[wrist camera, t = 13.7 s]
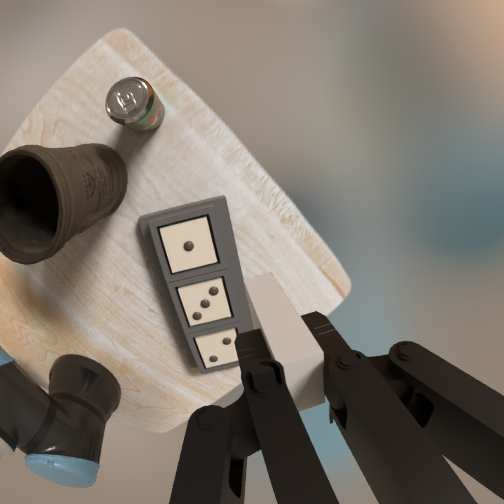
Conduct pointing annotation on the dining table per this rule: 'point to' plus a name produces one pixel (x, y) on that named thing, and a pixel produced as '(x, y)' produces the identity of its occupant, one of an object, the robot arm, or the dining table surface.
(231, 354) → the tile two dots
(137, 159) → the dining table surface
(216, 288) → the tile three dots
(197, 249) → the tile one dot
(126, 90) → the soda can
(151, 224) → the button panel
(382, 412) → the robot arm
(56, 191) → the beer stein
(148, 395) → the dining table surface
